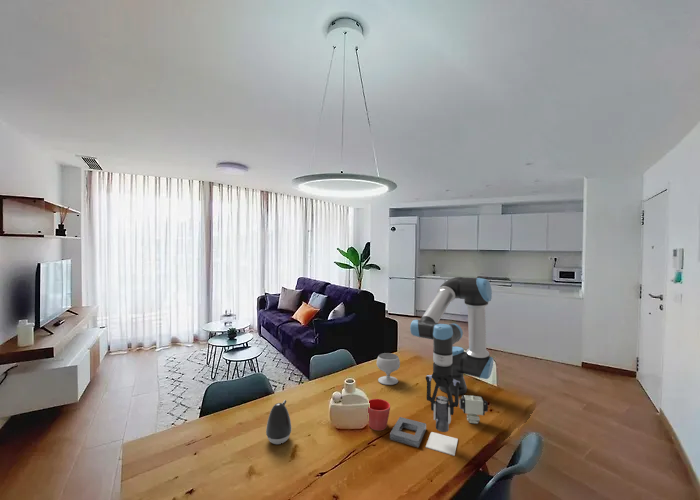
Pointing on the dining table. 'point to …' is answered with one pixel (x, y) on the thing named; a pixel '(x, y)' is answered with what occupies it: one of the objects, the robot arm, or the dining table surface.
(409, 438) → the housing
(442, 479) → the dining table surface
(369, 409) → the flower pot
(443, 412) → the metal cylinder
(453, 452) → the pad
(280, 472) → the dining table surface
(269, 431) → the dark grey tapered piece
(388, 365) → the chalice
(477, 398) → the pneumatic valve
